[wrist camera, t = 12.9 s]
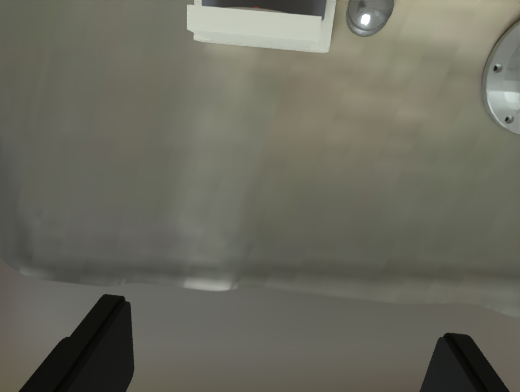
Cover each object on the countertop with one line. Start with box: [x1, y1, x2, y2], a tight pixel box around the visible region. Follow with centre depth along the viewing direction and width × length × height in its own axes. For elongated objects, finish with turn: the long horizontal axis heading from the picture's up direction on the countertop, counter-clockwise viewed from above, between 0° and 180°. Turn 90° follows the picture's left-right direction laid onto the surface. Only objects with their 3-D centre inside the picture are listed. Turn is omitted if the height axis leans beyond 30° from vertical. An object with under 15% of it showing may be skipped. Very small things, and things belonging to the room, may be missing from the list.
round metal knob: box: [346, 0, 394, 37], centre depth 33 cm, size 4×4×2 cm
